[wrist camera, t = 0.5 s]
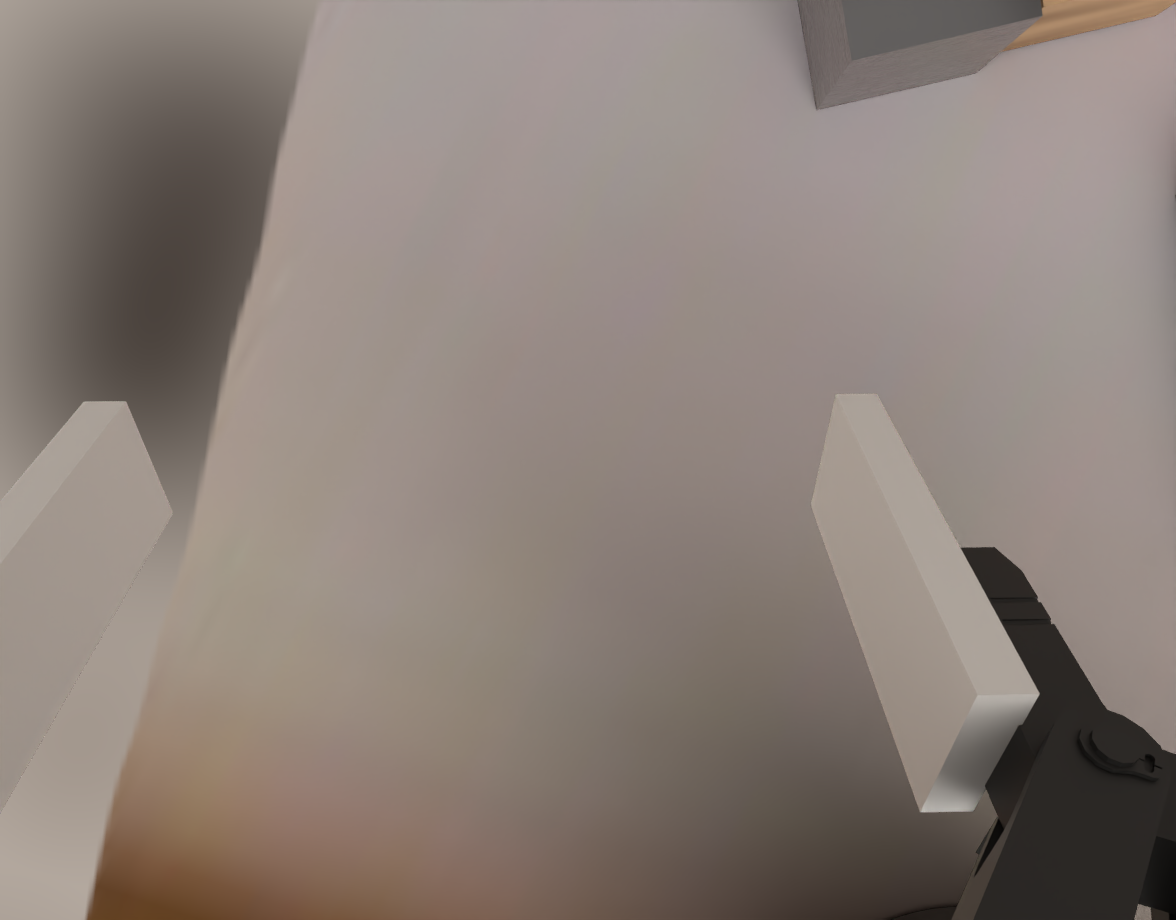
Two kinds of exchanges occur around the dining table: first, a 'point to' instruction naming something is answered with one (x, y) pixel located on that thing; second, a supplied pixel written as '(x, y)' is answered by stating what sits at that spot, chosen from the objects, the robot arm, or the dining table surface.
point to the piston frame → (904, 42)
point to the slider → (1085, 17)
